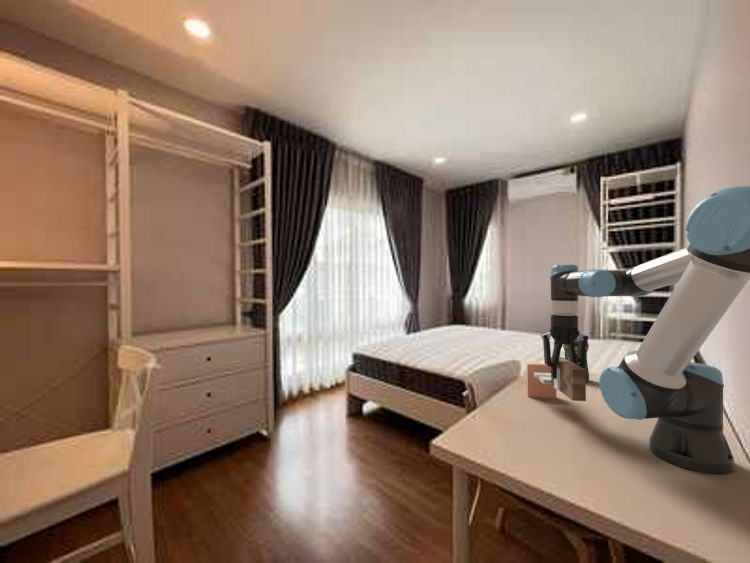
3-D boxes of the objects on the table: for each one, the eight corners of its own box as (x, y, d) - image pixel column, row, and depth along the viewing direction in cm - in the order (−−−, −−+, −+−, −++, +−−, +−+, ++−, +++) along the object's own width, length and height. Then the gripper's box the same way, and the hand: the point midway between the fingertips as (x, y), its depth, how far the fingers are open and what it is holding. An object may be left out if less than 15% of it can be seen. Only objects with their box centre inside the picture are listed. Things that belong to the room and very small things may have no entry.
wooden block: (594, 401, 96) (594, 369, 96) (564, 400, 97) (564, 368, 97) (557, 376, 122) (557, 351, 122) (534, 376, 123) (533, 351, 123)
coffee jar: (590, 379, 149) (590, 337, 149) (586, 383, 144) (586, 339, 144) (566, 375, 156) (566, 335, 156) (561, 379, 150) (561, 337, 150)
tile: (556, 398, 126) (556, 365, 126) (527, 396, 127) (527, 364, 127) (554, 396, 127) (554, 364, 127) (526, 395, 128) (526, 363, 129)
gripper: (586, 313, 109) (586, 386, 109) (532, 312, 112) (532, 384, 112) (599, 315, 102) (599, 394, 102) (540, 314, 104) (540, 391, 104)
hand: (564, 388), depth 107 cm, fingers closed on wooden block, 3 cm apart
